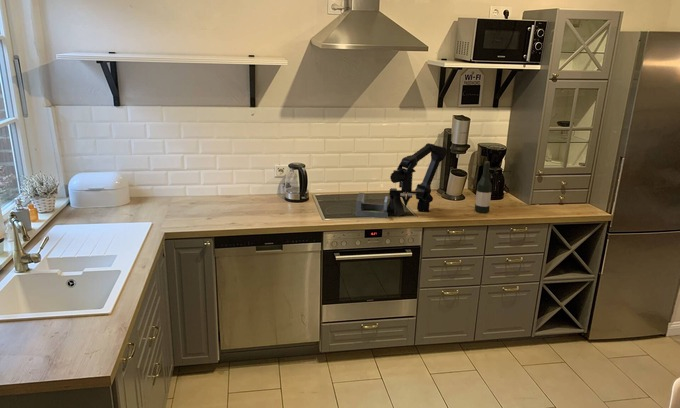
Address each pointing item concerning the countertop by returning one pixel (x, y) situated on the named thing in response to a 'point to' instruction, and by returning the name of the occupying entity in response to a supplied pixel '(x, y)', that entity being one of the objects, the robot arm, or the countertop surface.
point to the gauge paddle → (385, 204)
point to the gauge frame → (361, 205)
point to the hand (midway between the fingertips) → (405, 207)
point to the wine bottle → (483, 191)
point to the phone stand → (395, 206)
